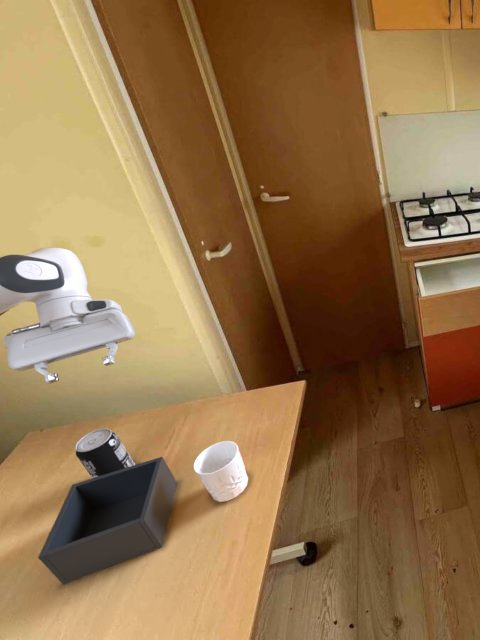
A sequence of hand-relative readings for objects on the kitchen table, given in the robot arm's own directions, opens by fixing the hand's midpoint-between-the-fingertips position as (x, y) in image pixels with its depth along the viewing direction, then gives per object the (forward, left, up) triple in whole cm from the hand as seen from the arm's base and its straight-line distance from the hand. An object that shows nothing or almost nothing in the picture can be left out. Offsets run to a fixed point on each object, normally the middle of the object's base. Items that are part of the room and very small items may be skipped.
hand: (82, 373), depth 93 cm
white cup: (+25, -26, -21) cm, 42 cm away
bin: (+7, -27, -21) cm, 35 cm away
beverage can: (+2, -12, -21) cm, 25 cm away
